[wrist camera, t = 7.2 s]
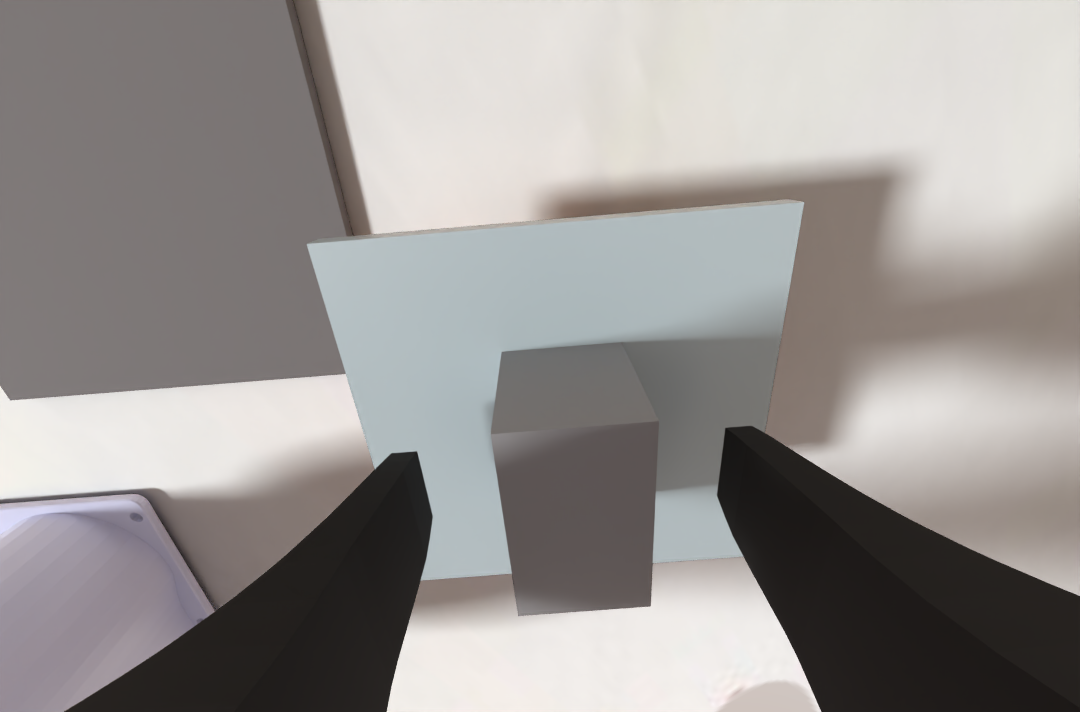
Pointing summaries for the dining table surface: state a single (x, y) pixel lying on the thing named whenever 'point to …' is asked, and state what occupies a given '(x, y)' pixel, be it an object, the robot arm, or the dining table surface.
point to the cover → (566, 384)
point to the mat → (160, 197)
